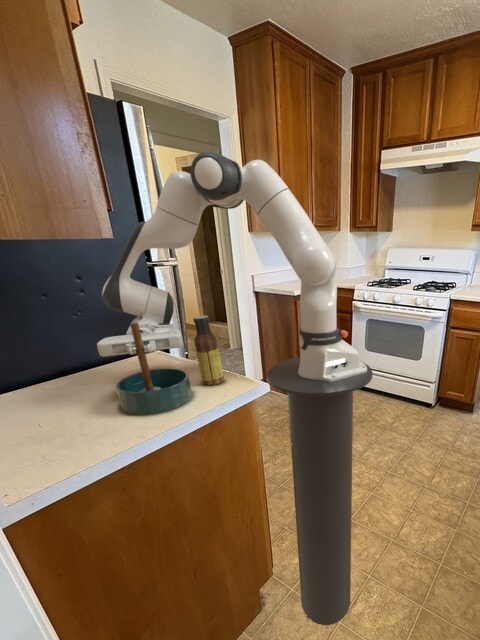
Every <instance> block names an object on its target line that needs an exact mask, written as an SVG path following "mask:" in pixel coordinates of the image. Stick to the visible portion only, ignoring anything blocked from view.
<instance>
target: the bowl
mask: <svg viewBox="0 0 480 640" xmlns="http://www.w3.org/2000/svg"><path fill="white" fill-rule="evenodd" d="M149 372H150V376H151V380H152V384H153V387H160V388H161V389H159V390H154V391H147V392H140V391H141V390H142V389H145V384H144V380H143V375H142V371H138V372H136V373H133V374H130V375H127V376H126V377H123V378H121V379H120V380H119V381H117V383H116V386H115V389H116V393H117V396H118V401H119V403H120V406H121V409H122V411H123V412H125V413H126V414H129V415H137V416H148V415H149V416H150V415H157V414H161V413H166V412H170V411H172V410H175V409H178V408H180V407H182V406H184V405H186V403H188V402H189V401H190V400H191V398H192V397H193V396H192V395H193V394H192V388H191V383H190V382H191V381H190V378H189V372H187V371H186V370H184V369H180V368H173V367H167V368H165V367H164V368H163V367H162V368H154V369H149Z"/></svg>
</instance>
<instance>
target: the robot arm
mask: <svg viewBox="0 0 480 640" xmlns="http://www.w3.org/2000/svg"><path fill="white" fill-rule="evenodd" d="M189 172H190V173H189ZM189 172H187V171H183V170H176V171H173V172H171V173H170V174H169V175H168V177H167V178H166V180H165V183H164V185H163V187H162V189H161V192H160V194H159V197H158V200H157V204H156V207H155V211H154V213H153V214H152V216H150V218H149V219H147V220H146V221H140V222H138V223H137V225H136V226H135V228H134V229H133V231H132V232H131V234H130V236H129V238H128V241H127V242H126V244H125V246H124V248H123V250H122V252H121V255H120V257H119V259H118V261H117V263H116V265H115V267H114V270H113V271H112V274H111V275H110V276H109V277H108V279H107V280H106V281H105V283H104V284H103V288H102V291H101V299H102V301H103V302H104V303H105V305H106V306H107V307H108V308H109V309H110V310H111V311H114V312H115V311H116V312H120V313H126V314H129V315H133V316H135V318H134V319H133V320H131V323H134V322H137V323H138V324H139V328H140V333H141V337H142V341H143V348H144V352H145V354H146V355H149V354H153V353H154V352H157V351H164V350H171V349H172V350H173V349H180V348H183V347H184V342H183V336H182V333H181V331H180V329H178V328H177V327H176V325H175V324H174V323H171V321H172V319H173V315H174V307H175V306H174V305H175V301H174V299H173V296H172V294H171V293H170V292H169V291H166V290H165V289H161V288H158V287H155V286H153V285H149V284H146V283H143V282H141V281H137V280H135V279H133V278H131V274H132V272H133V271H134V268H135V266H136V264H137V262H138V260H139V258H140V256H141V255H142V253H143V252H145V251H147V250H152V249H161V250H162V249H164V250H166V249H167V250H176V249H183V248H185V247H187V246H189V245H190V244H191V243H192V242H193V240H194V238H195V236H196V234H197V230H198V228H199V224H200V220H201V218H202V214H203V212H204V210H205V209H206V207H209V206H210V207H211V208H218V209H225V210H232V209H236V208H238V207H239V206H241V205H242V204H243V202H244V201H245V202H246V203H247V204H248V205H249V206H250V207H251V208H252V210H253V211H254V213H255V214H256V215H257V217H258V218H259V220H260V221H261V222H262V224H263V225H264V226H265V228H266V229H267V230H268V232H269V233H270V234H271V236H272V237H273V238H274V240H275V242H276V243H277V244H278V247H279V248H280V249H281V251H282V253H283V255H284V256H285V258H286V260H287V262H288V263H289V264H290V266H291V268H292V270H293V272H295V274H296V276H297V277H298V279H299V280H300V295H299V320H300V321H299V322H300V329H299V335H298V336H299V347H300V364H299V369H298V374H299V375H300V376H301V377H304V378H307V379H313V380H322V381H326V382H332V381H336V380H340V379H344V378H347V377H351V376H355V375H358V374H362V373H366V372H367V367H366V365H367V364H366V363H365V364H366V365H365V364H363V363H364V362H363V361H361V358H360V354H359V352H358V350H357V349H356V348H355V347H353V346H352V345H351V344H350V343H348V342H346V341H345V340H344V339H343V338H345V339H346V338H347V337H348V336H349V332H348V331H346V330H345V329H340V328H338V326H337V325H338V324H337V323H338V322H337V321H338V320H337V319H338V318H337V299H338V255H337V252H336V250H335V249H334V248H333V247H332V246H331V245H330V244H328V243H327V242H326V241H324V239H323V238H322V236H321V235H320V233H319V232H318V230H317V228H316V227H315V225H314V224H313V222H312V221H311V219H310V216H309V214H308V213H307V212H306V210H305V209H304V208H303V206H302V205H301V203H300V202H299V200H298V199H297V198H296V197H295V195H294V194H293V193H292V191H291V189H290V188H289V187H288V185H287V184H286V182H285V181H284V180H283V179H282V178H281V176H280V175H279V173H277V172H276V170H274V169H273V168H272V167H271V165H269V164H268V162H266V161H264V160H263V159H254V160H250V161H248V162H247V163H246V164H245V165H243V166H241V167H240V165H239V163H238V162H236V161H235V160H232V159H230V158H228V157H227V156H225V155H222V154H221V153H217V152H213V151H204V152H201V153H199V154H197V155H196V156H195V157H194V159H192V161H191V165H190V171H189ZM96 347H97V352H98V354H99V356H100V357H103V358H105V357H106V358H107V357H115V356H121V355H131V356H132V355H133V356H134V355H137V351H136V346H135V342H134V338H133V334H132V330H131V326H130V325H129V327H128V328H127V330H126V333H125V334H123V335H114V336H107V337H104V338H102V339H101V340H99V341H98V342H97V343H96ZM360 361H361V362H360ZM362 362H363V363H362Z"/></svg>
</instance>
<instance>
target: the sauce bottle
mask: <svg viewBox="0 0 480 640" xmlns="http://www.w3.org/2000/svg"><path fill="white" fill-rule="evenodd" d="M192 319H193V323H194V326H195V329H196V330H195V332H196V335H195V337H194V340H193V341H194V342H193V343H194V347H195V352H196V353H195V354H196V358H197V362H198V367H199V372H200V375H201V377H200V378H201V380H202V383H203V384H204V385H206V386H216V385H219V384H221V383H223V381H224V380H225V379H224V373H223V372H224V370H223V365H222V360H221V355H220V349H219V346H218V342H217V338H216V337H215V335H214V334H213V332H212V331H211V327H210V317H209V316H208V315H196V316H194V317H193V318H192Z"/></svg>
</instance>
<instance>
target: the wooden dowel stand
mask: <svg viewBox="0 0 480 640" xmlns="http://www.w3.org/2000/svg"><path fill="white" fill-rule="evenodd" d="M130 326H131V330H132V334H133V338H134V342H135V346H136V351H137V354H136V355H137V358H138V363H139V367H140V372H142V375H143V380H144V384H145V389H142V390H141V391H140V392H147V391H154V390H159V389H161V388H160V387H153V384H152V380H151V376H150V372H149V370H150V367H149V362H148V358H147V354H145V352H144V348H143V341H142V337H141V333H140V328H139V324H138V323H137V322H134V323H132V322H131V323H129V327H130Z"/></svg>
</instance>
